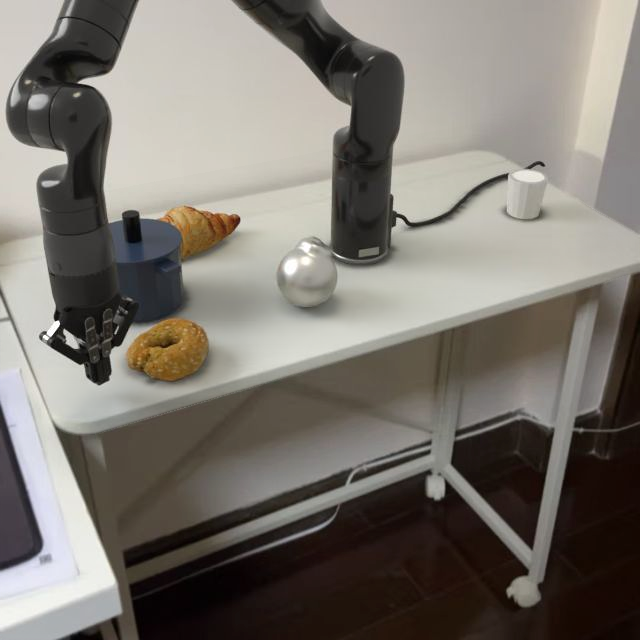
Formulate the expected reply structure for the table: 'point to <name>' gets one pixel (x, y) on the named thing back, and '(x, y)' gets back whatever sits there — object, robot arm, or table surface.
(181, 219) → the croissant
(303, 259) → the silver round bulb
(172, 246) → the pot lid
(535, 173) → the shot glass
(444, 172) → the table surface
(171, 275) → the pot
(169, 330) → the bagel
